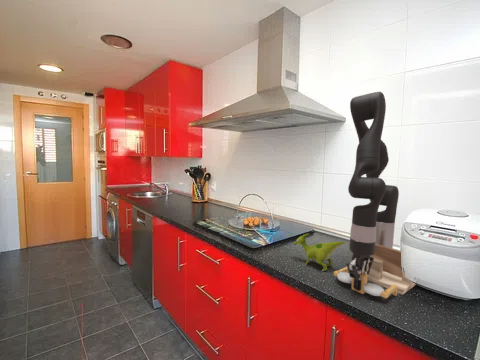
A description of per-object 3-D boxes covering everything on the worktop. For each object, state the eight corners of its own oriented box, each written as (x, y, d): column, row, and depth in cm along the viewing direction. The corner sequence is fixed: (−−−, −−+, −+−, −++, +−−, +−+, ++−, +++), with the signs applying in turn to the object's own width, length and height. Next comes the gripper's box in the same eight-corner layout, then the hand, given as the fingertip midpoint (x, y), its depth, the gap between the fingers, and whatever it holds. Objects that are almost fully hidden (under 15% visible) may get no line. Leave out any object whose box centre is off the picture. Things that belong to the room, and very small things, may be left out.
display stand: (363, 264, 102) (365, 240, 101) (416, 284, 87) (419, 255, 86) (347, 272, 95) (349, 245, 94) (402, 294, 80) (405, 263, 79)
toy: (310, 269, 106) (296, 236, 110) (358, 258, 94) (340, 221, 97) (302, 276, 100) (287, 240, 104) (352, 264, 87) (333, 225, 91)
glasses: (346, 273, 93) (347, 258, 93) (397, 295, 79) (399, 277, 79) (330, 281, 87) (331, 265, 86) (383, 306, 73) (384, 287, 72)
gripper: (361, 231, 87) (358, 278, 88) (340, 238, 79) (336, 289, 80) (384, 237, 81) (379, 287, 82) (363, 245, 73) (359, 300, 74)
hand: (358, 288), depth 81 cm, fingers closed on glasses
